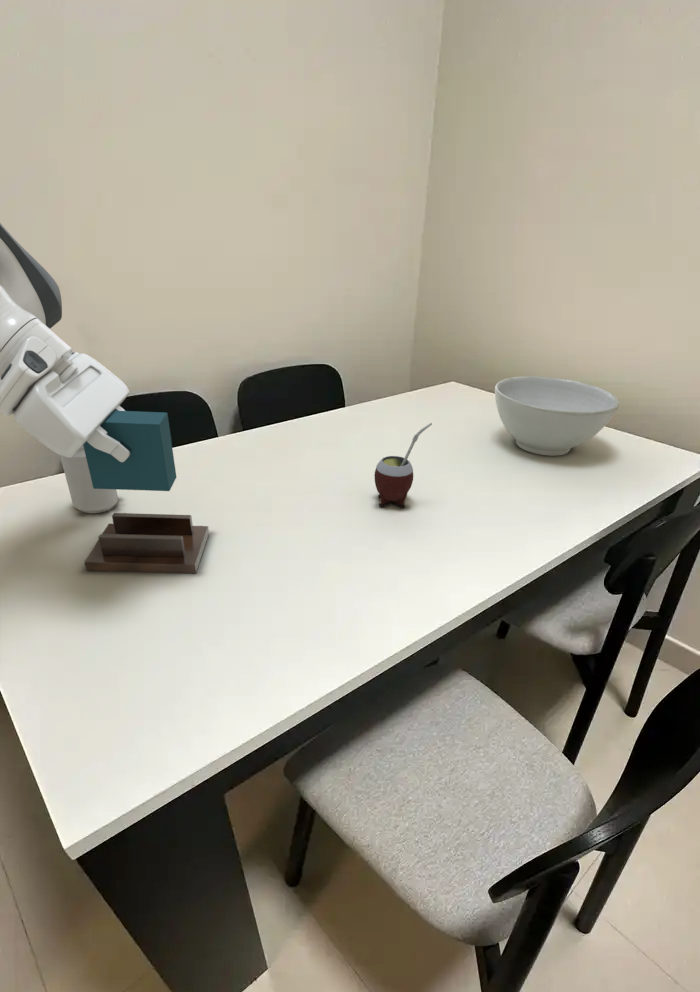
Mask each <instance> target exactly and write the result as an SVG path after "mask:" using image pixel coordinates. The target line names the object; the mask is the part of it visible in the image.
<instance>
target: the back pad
mask: <svg viewBox="0 0 700 992" xmlns="http://www.w3.org/2000/svg"><path fill="white" fill-rule="evenodd" d="M100 427H102V428H103V429H104V430H105V431H106V432H107V434H106V435H108V436H110V437H111V438H113V439H115V440H117V441H118V442H121V441H123V442H124V443H125V444H126V445H127V446H129V447H130V448H131V450H132V452H131V454H130V455H129V457H128V458H127V459H126V460H125V461H124V462H120V461H118V460H117V459H116V458H115V457H113V456H112V455H111V454H108V453H106V452H103V451H101V450H98V449H96V448H94V447H93V446H92V445H90V444H89V443H88V442H87V441H86V442H85V443H84V445H83V447H84V451H85V455H86V459H87V463H88V467H89V472H90V476H91V480H92V484H93V488H94V489H116V490H121V491H124V490H125V491H151V492H152V491H153V492H171V489H172V487H173V486H174V483H175V481H176V479H177V471H176V464H175V457H174V456H175V455H174V450H173V444H172V443H173V442H172V436H171V428H170V422H169V415H168V412H163V411H162V412H161V411H160V412H159V411H138V410H137V411H134V410H125V411H115V410H114V411H113V412H112V413H111V414H110V415H109V416H108V417H107V418H106V420H105V421H104V422H103V423H102V424H101V425H100Z"/></svg>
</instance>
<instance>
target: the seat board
mask: <svg viewBox="0 0 700 992" xmlns="http://www.w3.org/2000/svg"><path fill="white" fill-rule="evenodd" d="M111 518H112V523H111V522H110V523H108V524H107V526H106V527H105V529H104V530H103V532H102V533H100V535H99V536H98V540H97V542H96V543H95V545H94V546H93V548H92V550H91V551H90V553H89V554H88V556H87V557H86V559H85V560H84V566H85V570H86V571H87V572H120V573H121V572H126V573H127V572H128V573H165V574H167V573H168V574H169V573H171V574H197V572H198V568H199V565H200V562H201V559H202V556H203V554H204V551H205V547H206V544H207V541H208V538H209V535H210V529H209V526H208V525H193V519H192V514H168V513H132V512H131V513H130V512H129V513H128V512H113V514H112V515H111Z"/></svg>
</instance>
